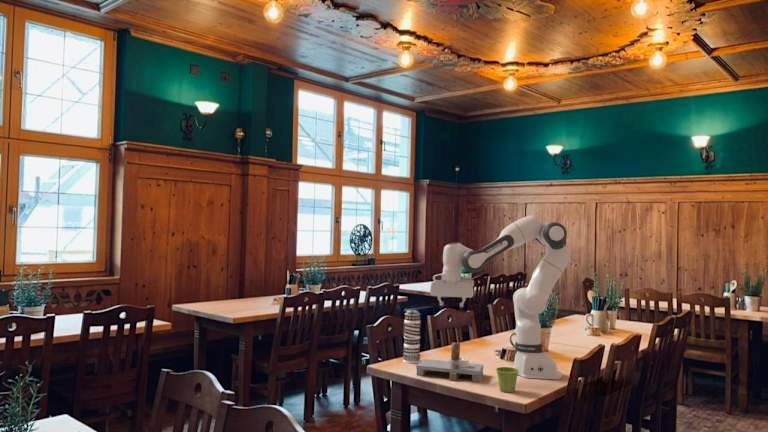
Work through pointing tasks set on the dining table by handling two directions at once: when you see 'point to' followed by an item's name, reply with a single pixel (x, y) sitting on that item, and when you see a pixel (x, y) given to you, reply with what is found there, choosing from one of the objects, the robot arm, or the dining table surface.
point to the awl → (455, 355)
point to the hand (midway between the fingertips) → (451, 306)
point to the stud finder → (461, 362)
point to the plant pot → (507, 378)
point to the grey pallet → (450, 369)
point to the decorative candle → (411, 337)
